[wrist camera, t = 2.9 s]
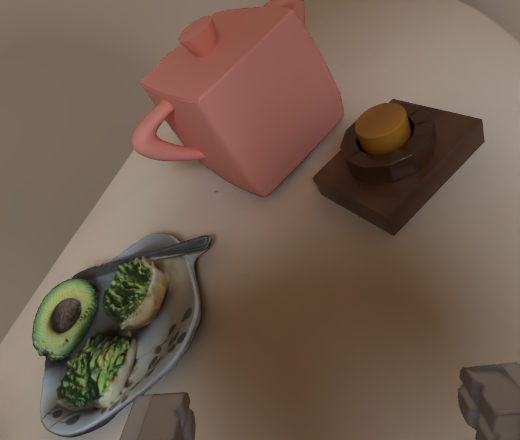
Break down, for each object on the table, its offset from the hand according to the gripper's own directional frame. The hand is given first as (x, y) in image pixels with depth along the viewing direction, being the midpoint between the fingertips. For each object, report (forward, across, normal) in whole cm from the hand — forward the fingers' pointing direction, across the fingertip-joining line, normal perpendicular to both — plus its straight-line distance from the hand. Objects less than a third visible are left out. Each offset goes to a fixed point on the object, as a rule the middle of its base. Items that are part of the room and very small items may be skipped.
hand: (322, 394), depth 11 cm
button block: (+21, -9, 0) cm, 23 cm away
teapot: (+35, +2, -1) cm, 35 cm away
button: (+20, -8, -3) cm, 21 cm away
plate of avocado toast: (+20, +16, +12) cm, 28 cm away
